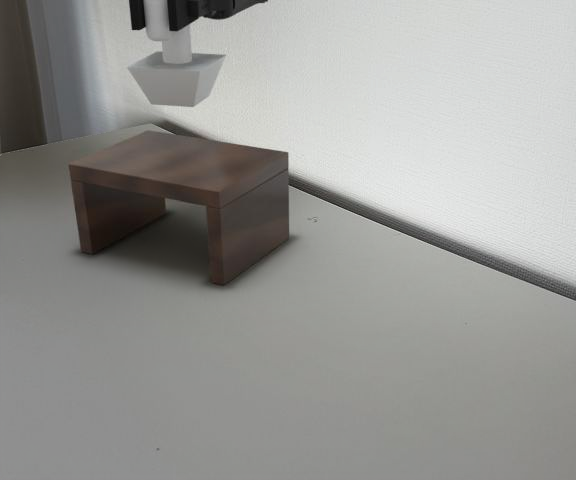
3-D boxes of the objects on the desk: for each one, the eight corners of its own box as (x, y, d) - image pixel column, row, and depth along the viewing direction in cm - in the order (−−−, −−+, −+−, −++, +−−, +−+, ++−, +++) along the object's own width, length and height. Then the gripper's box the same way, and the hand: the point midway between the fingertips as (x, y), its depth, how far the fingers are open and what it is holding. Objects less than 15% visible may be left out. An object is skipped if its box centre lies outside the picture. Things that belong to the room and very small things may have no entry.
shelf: (80, 251, 82) (67, 163, 78) (155, 211, 91) (148, 129, 87) (223, 285, 76) (218, 191, 71) (289, 238, 85) (288, 151, 80)
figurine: (126, 110, 82) (107, -70, 74) (164, 86, 89) (151, -79, 81) (198, 115, 80) (187, -68, 72) (231, 90, 88) (224, -78, 80)
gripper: (295, 16, 96) (243, 62, 76) (157, 12, 98) (73, 56, 79) (294, -61, 92) (240, -33, 72) (151, -62, 94) (61, -35, 75)
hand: (153, 14), depth 75 cm, fingers closed on figurine, 3 cm apart
